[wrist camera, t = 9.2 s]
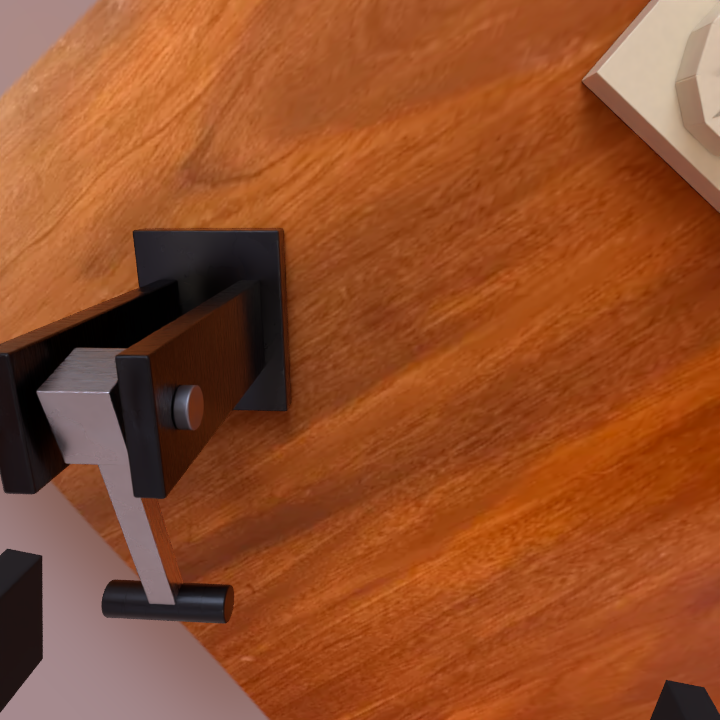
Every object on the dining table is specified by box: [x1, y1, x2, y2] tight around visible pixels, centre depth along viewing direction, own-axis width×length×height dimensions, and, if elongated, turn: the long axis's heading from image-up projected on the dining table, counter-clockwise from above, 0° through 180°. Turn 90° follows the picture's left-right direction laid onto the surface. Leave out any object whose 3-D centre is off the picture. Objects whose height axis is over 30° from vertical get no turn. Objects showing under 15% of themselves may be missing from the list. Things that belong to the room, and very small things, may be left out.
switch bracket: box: [0, 228, 291, 499], centre depth 23 cm, size 9×7×14 cm
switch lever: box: [36, 348, 234, 623], centre depth 21 cm, size 12×5×2 cm, turn 1°
